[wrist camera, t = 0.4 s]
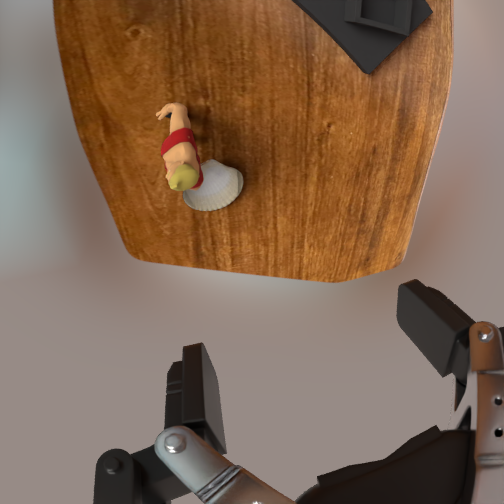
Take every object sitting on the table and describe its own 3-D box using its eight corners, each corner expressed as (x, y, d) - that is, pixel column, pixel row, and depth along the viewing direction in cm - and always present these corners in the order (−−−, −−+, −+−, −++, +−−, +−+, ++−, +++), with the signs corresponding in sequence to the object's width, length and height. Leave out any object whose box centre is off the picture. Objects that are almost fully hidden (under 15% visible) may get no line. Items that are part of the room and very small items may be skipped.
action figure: (154, 95, 31) (142, 139, 20) (184, 87, 31) (190, 125, 20) (173, 163, 37) (176, 236, 26) (200, 156, 37) (215, 225, 27)
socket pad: (290, -1, 25) (303, -3, 23) (367, -63, 19) (385, -67, 16) (363, 72, 33) (379, 79, 31) (426, 11, 27) (445, 14, 24)
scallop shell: (197, 203, 44) (250, 190, 43) (196, 219, 42) (250, 206, 41) (173, 163, 38) (231, 146, 36) (169, 179, 36) (231, 161, 34)
